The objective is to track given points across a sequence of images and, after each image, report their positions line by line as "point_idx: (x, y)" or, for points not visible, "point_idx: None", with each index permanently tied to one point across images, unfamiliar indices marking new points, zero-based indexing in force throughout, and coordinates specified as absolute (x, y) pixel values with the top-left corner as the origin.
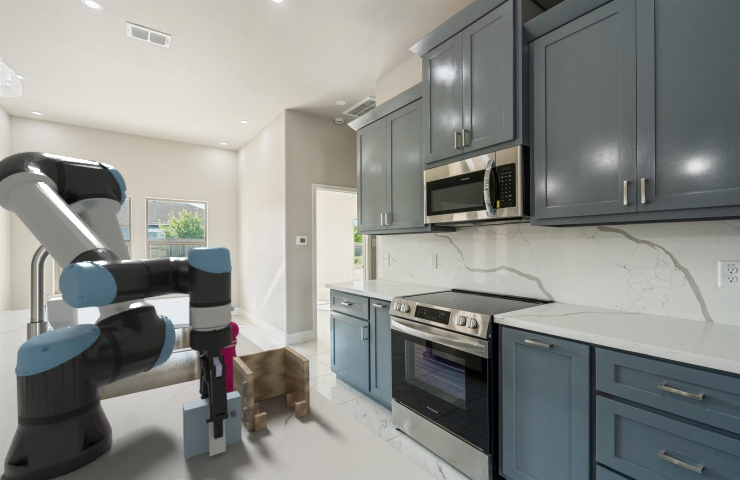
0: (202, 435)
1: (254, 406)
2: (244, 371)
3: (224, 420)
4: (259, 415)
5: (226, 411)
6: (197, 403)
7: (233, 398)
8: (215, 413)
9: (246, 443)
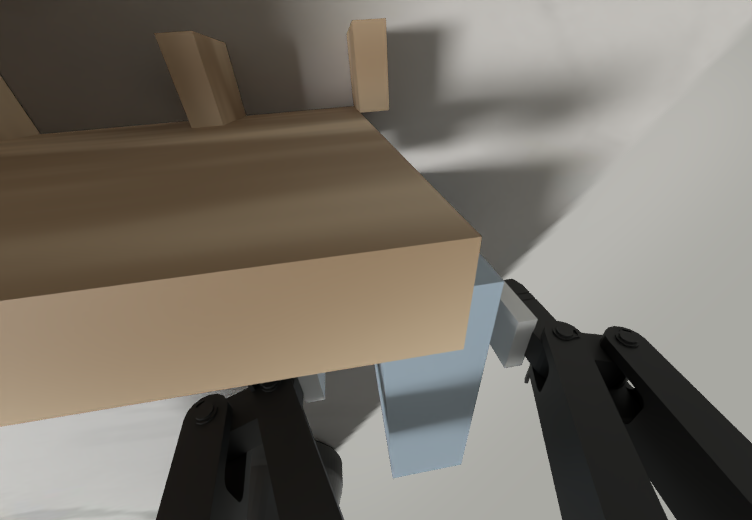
0: None
1: (211, 74)
2: (201, 377)
3: (527, 309)
4: (382, 78)
5: (662, 362)
6: (424, 446)
7: (492, 322)
8: (639, 400)
9: (442, 160)
